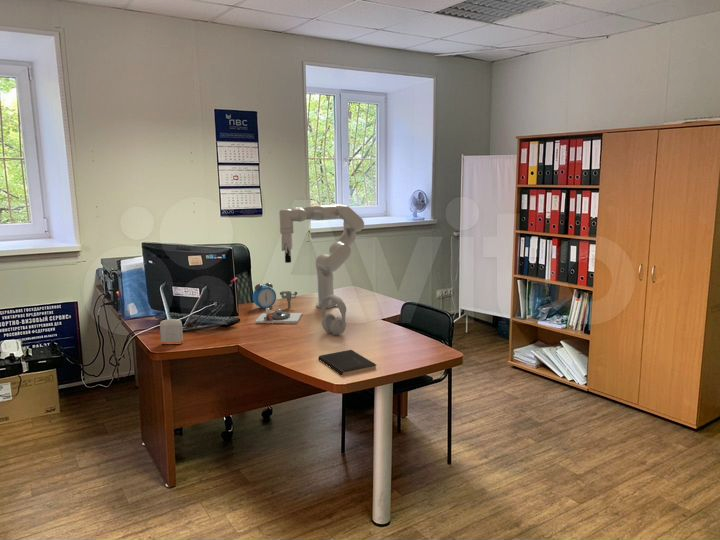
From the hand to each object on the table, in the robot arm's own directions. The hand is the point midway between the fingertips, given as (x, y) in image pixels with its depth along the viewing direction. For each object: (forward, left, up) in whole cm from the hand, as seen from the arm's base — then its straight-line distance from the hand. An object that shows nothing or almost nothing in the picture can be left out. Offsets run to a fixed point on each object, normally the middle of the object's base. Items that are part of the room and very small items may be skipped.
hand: (288, 262), depth 320 cm
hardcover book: (-39, +92, -30) cm, 104 cm away
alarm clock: (+17, -9, -29) cm, 35 cm away
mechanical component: (+2, -8, -29) cm, 30 cm away
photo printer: (+47, +62, -29) cm, 83 cm away
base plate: (+3, +19, -29) cm, 35 cm away
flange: (+4, +20, -27) cm, 34 cm away
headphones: (-30, +48, -29) cm, 64 cm away
